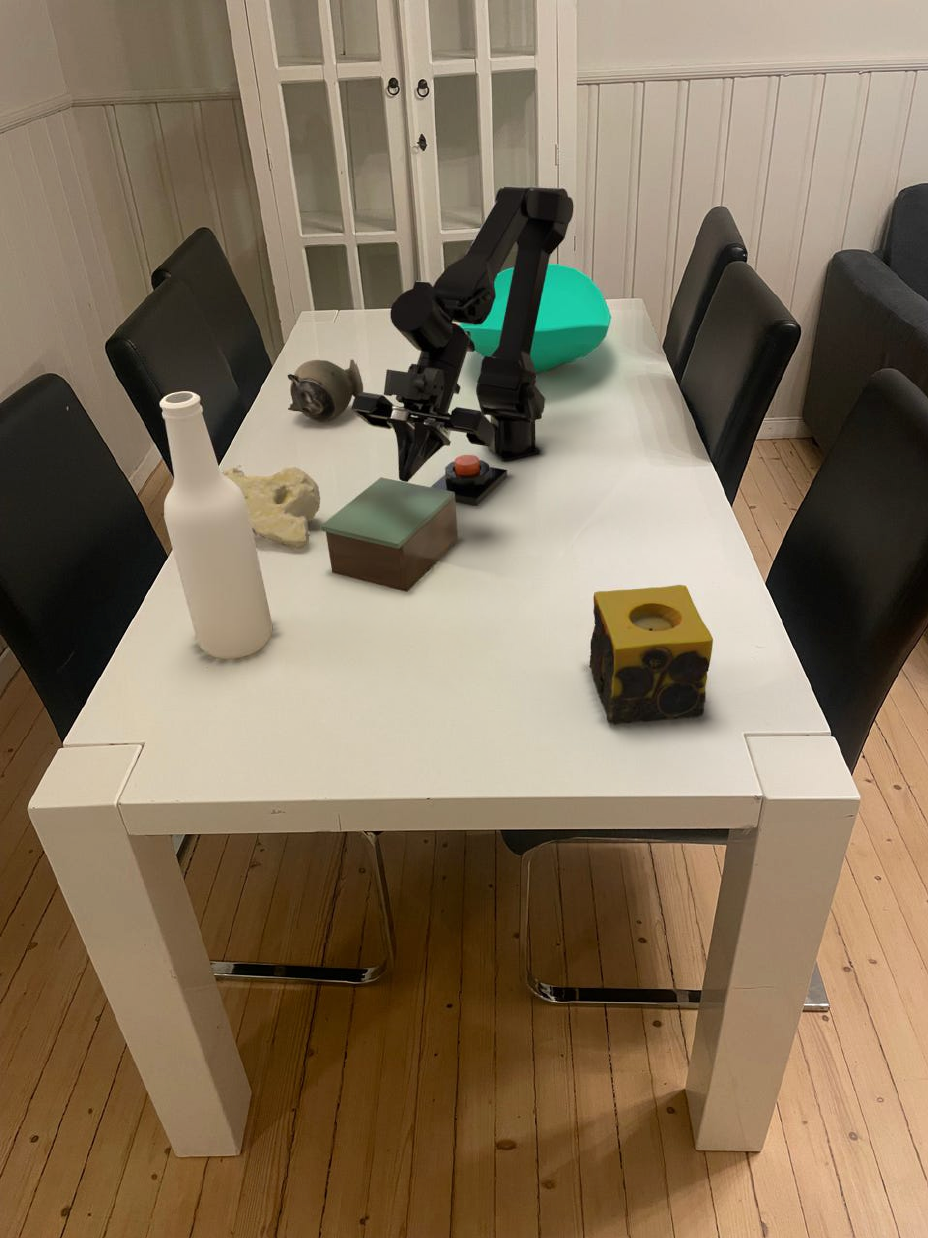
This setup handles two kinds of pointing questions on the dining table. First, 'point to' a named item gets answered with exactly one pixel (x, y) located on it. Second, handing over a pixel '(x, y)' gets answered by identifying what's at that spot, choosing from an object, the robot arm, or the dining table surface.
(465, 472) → the button
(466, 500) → the black button base
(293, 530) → the animal skull
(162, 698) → the dining table surface
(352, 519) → the sage green panel
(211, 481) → the alcohol
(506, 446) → the robot arm
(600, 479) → the dining table surface
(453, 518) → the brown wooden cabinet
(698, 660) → the candle
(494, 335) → the table top decor
